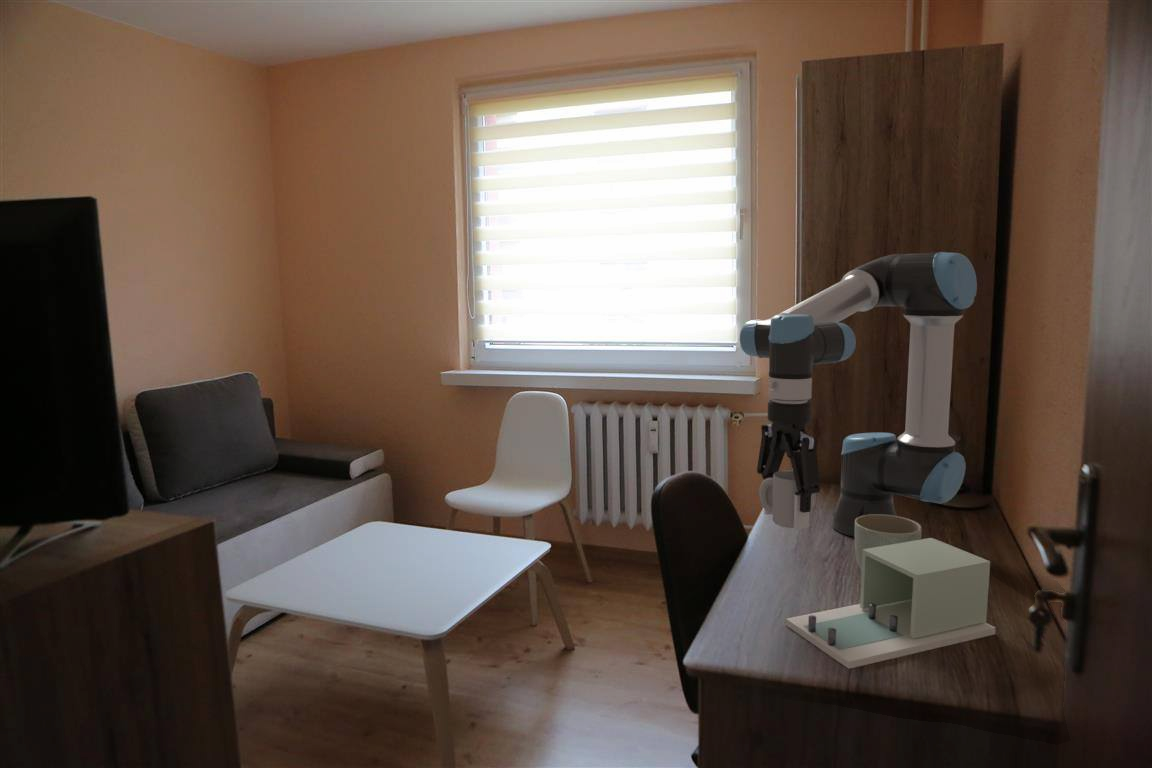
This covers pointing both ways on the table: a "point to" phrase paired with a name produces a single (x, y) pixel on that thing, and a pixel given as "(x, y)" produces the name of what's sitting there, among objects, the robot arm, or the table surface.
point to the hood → (927, 583)
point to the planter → (883, 532)
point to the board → (876, 634)
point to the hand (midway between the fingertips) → (785, 520)
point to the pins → (833, 631)
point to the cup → (782, 498)
